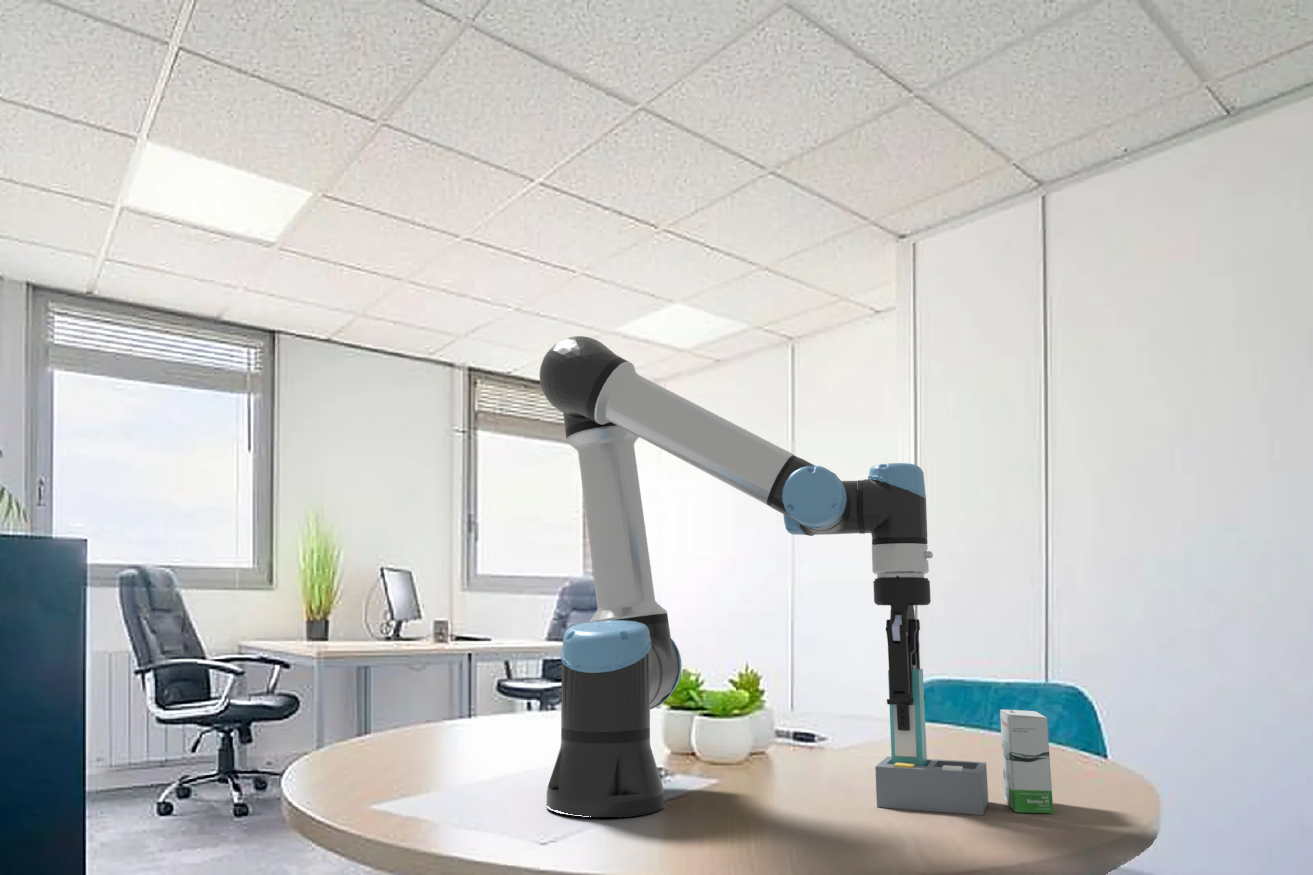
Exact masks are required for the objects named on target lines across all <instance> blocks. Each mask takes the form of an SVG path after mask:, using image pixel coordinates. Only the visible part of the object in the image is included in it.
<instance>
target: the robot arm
mask: <svg viewBox="0 0 1313 875" xmlns="http://www.w3.org/2000/svg"><path fill="white" fill-rule="evenodd" d="M539 383H540V389H541V390H542V393H543V395H544V396H545V398H546V400H547V401H548V403H550V404H551V406H552V407H554V408H555V409H556V410H558V411H560V412H561V413H563V422H564V423H563V424H564V431H565V439H566V443H567V444H568V445H570V446H571V447H572V448H574V449H575V451H577V453H578V460H579V461H578V462H579V463H578V464H579V470H580V479H581V486H582V487H581V488H582V493H583V494H582V495H583V502H584V509H585V510H584V511H585V517H586V526H587V534H588V542H589V549H590V550H589V551H590V552H589V553H590V559H591V566H592V568H591V569H592V574H593V575H592V576H593V582H594V592H595V600H596V607H597V609H596V612H595V613H594V614H593V616H592V618H590V620H589V621H588V622H583V623H579V624H575V625H572V626H570V627H568V628H567V630H566V631H565V632H564V634H563V637H562V648H561V650H560V651H561V652H560V660H561V687H560V688H561V694H560V696H561V699H560V700H561V701H560V702H561V703H560V704H561V708H560V710H561V711H560V713H561V714H560V718H561V720H560V723H561V724H560V727H561V729H560V730H561V731H560V747H559V751H558V754H557V756H556V760H555V763H554V767H553V769H552V773H551V775H550V778H549V781H548V785H547V787H546V806H549V807H550V808H551V809H553V810H558V811H561V812H564V813H568V814H573V815H582V816H589V817H590V816H591V817H618V818H628V817H629V818H630V817H638V816H641V815H646V814H647V815H648V814H651V813H654V812H658V811H659V810H661V809H663V808H664V806H665V805H664V800H665V799H664V796H665V794H664V792H665V790H664V786H663V782H662V779H661V776H660V773H659V769H658V766H657V764H656V761H655V757H654V754H653V753H654V752H653V750H652V747H651V710H653V709H654V708H656V707H658V706H660V705H662V704H663V703H664V702H665V701H666V700H668V698H669V697H670V696H671V695H672V694H673V692H674V691H675V690H676V688H677V686H678V684H679V681H680V679H681V674H682V656H681V654H680V651H679V649H678V646H677V644H676V643H675V640H674V639H673V638H672V637H671V631H670V630H671V629H670V624H669V617H668V616H669V615H668V612H667V610H666V609H665V608H664V607H662V606H661V605H660V604H659V603H658V602H657V601H656V597H655V589H654V582H653V576H652V566H651V562H650V561H651V560H650V555H649V554H650V552H649V546H648V539H647V538H648V537H647V530H646V525H645V524H646V523H645V522H646V521H645V516H644V509H643V502H642V501H643V500H642V494H641V487H640V480H639V472H638V471H639V470H638V465H637V458H636V457H637V456H636V451H635V450H636V449H635V443H636V442H637V440H638V439H639V438H640V439H642V440H644V441H646V442H648V443H649V444H651V445H653V446H656V447H658V448H660V449H661V450H663V451H664V452H666V453H668V454H670V455H672V456H674V457H676V458H678V459H680V460H682V461H684V462H685V463H687V464H689V465H691V466H693V467H694V468H697V469H699V470H701V471H702V472H704V473H706V474H708V475H710V476H711V477H713V478H715V479H717V480H720V481H722V482H723V483H725V484H727V485H729V486H730V487H732V488H735V489H736V490H738V491H740V492H742V493H743V494H746V495H748V496H749V497H752V498H753V499H756V500H757V501H759V502H761V503H763V504H765V505H766V506H768V507H770V508H771V509H774V510H775V511H777V512H779V513H781V514H782V515H783V523H784V525H785V530H786V532H788V533H789V534H791V535H794V536H795V535H800V536H809V537H813V536H817V535H818V536H820V535H846V534H847V535H849V534H850V535H851V534H863V535H864V534H871V565H872V566H871V567H872V573H873V574H874V575H876V577H877V578H874V580H873V581H872V582H873V602H874V605H877V606H890V616H889V617H890V618H889V619H886V622H885V623H886V627H885V632H886V638H887V639H886V640H887V641H886V642H887V654H888V656H887V657H888V670H889V681H890V699H889V698H887V699H886V704H887V705H889V704H891V705H893V715H894V740H895V756H909V757H917V746H916V723H915V705H912V704H913V693H912V665H916V669H921V657H920V653H921V652H920V647H921V646H920V645H921V644H920V630H921V624H920V623H921V621H920V619H917V618H916V614H915V608H914V607H915V606H928V605H930V603H931V598H932V597H931V581H930V580H929V578H928V577H925V574H928V573H929V572H930V570H929V566H930V565H929V561H928V560H929V559H932V558H933V556H934V554H933V552H932V550H928V548H929V547H928V521H927V520H928V518H927V513H928V512H927V495H926V494H927V493H926V484H925V474H924V471H923V469H922V468H921V467H920V466H919V465H917V464H914V463H908V462H894V463H893V462H891V463H881V464H875V465H873V466H871V467H870V468H869V473H868V477H867V478H866V479H860V480H841V479H840V478H839V477H838V475H837V474H836V473H834V472H833V471H831V470H830V469H828V468H826V467H823V466H821V465H815V464H812V463H811V462H809V461H807V460H805V459H803V458H801V457H799V456H796V455H795V454H794V453H792V452H790V451H788V450H786V449H784V448H781V447H780V446H778V445H776V444H775V443H772V442H770V441H769V440H766V439H764V438H762V437H761V436H759V435H756V434H755V433H752V432H751V431H749V430H747V429H746V428H743V427H741V426H739V425H738V424H735V423H733V422H731V421H729V420H727V419H725V418H723V417H722V416H720V415H718V414H716V413H714V412H711V411H710V410H708V409H706V408H704V407H702V406H701V405H699V404H696V403H695V402H692V401H690V400H689V399H686V398H685V397H682V396H680V395H678V394H676V393H675V392H674V391H671V390H669V389H667V388H665V387H663V386H662V385H659V384H658V383H656V382H653V381H651V380H650V379H648V378H646V377H643V376H641V375H640V374H638V373H637V372H636V367H635V365H634V364H633V363H632V362H631V361H628V360H627V359H625V358H623V357H621V356H619V355H617V354H616V353H614V352H613V351H612V350H611V349H610V348H608V347H607V346H606V345H605V344H604V343H602V342H600V341H599V340H597V339H595V338H592V337H589V336H583V335H582V336H581V335H575V336H570V337H567V338H564V339H561V340H560V341H557V343H555V344H553V345H552V347H551V348H550V349H549V350H548V351H547V352H546V353H545V355H544V356H543V359H542V362H541V365H540V368H539ZM889 681H888V682H889ZM925 701H926V694H924V702H925Z"/></svg>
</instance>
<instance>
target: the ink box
mask: <svg viewBox="0 0 1313 875" xmlns="http://www.w3.org/2000/svg"><path fill="white" fill-rule="evenodd" d="M999 714H1000V715H999V716H1000V734H1001V735H1000V736H1001V740H1000V741H1001V756H1002V757H1001V758H1002V778H1003V779H1002V780H1003V781H1002V783H1003V798H1004V801H1005V802H1006V804H1007V805H1008V806H1009V807H1010V808H1011V809H1012V810H1013V811H1014V812H1015V813H1024V814H1027V813H1028V814H1029V813H1030V814H1054V802H1053V789H1052V785H1053V784H1052V774H1051V772H1052V771H1051V758H1050V757H1051V756H1050V745H1049V744H1050V742H1049V731H1048V728H1049V727H1048V726H1049V725H1048V717H1046V716H1045V715H1043V714H1042V713H1039V712H1038V711H1036V710H1024V709H1023V710H1022V709H1021V710H1019V709H1000V710H999Z"/></svg>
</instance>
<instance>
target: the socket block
mask: <svg viewBox="0 0 1313 875" xmlns="http://www.w3.org/2000/svg"><path fill="white" fill-rule="evenodd" d="M987 772H988V771H987V762H986V761H973V760H972V761H970V760H954V759H953V760H952V759H937V758H927V766H915V764H914V763H897V762H896V763H895V764H892V756H886V757H884V758H883V760H881V761H880V762H879V763H878V764H877V765H875V790H876V792H875V793H876V807H877V808H884V809H886V808H887V809H896V810H897V809H898V810H911V811H924V812H937V813H949V814H951V813H953V814H965V815H977V816H983V815H984V814H985V812H986V808H987V807H988V804H989V791H988V790H989V789H988V788H989V787H988V786H989V785H988V773H987Z"/></svg>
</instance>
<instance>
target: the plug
mask: <svg viewBox="0 0 1313 875" xmlns="http://www.w3.org/2000/svg"><path fill="white" fill-rule="evenodd" d="M887 673H888V674H887V676H888V677H887V678H888V679H887V680H888V697H889V698H888V699H890V681H889V669H887ZM924 689H925V686H924V669H923V668H920V669H916V665H912V693H913V704H912V705H915V723H916V746H917V757H909V756H895V740H894V715H893V705H891V704H888V705H889V727H890V728H889V729H890V748H891V750H890V752H891V757H892V764H895V763H896V762H897V763H914V764H915V766H927V759H928V756H927V755H928V753H927V736H926V734H927V730H926V711H925V710H926V709H925V701H924V695H925V692H924V691H925V690H924Z"/></svg>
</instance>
